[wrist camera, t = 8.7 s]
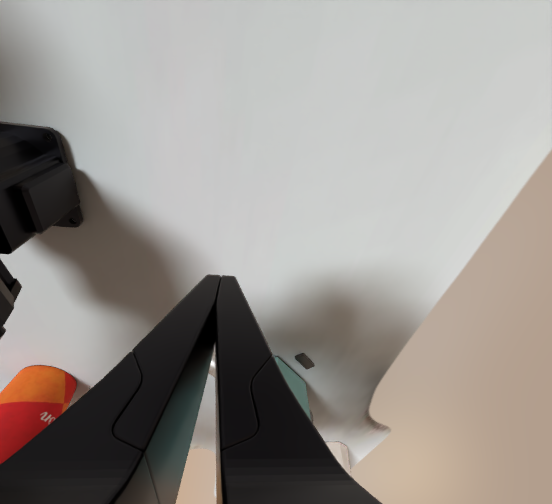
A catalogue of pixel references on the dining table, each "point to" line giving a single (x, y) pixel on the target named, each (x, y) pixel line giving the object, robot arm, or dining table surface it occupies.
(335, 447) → the pepper shaker
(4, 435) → the paper cup
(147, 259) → the dining table surface
